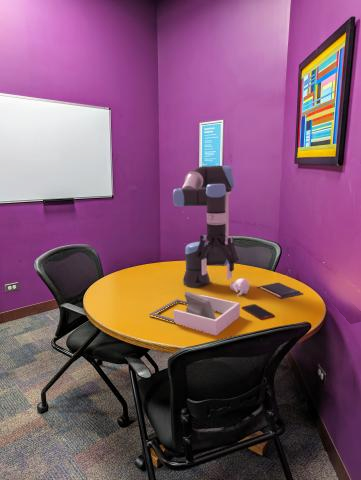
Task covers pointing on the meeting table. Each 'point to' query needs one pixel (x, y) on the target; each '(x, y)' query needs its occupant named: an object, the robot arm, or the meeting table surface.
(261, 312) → the cell phone
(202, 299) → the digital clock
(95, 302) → the meeting table surface
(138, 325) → the meeting table surface
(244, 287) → the pale pink lumpy piece
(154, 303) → the meeting table surface
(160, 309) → the frame
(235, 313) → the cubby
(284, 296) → the wallet
